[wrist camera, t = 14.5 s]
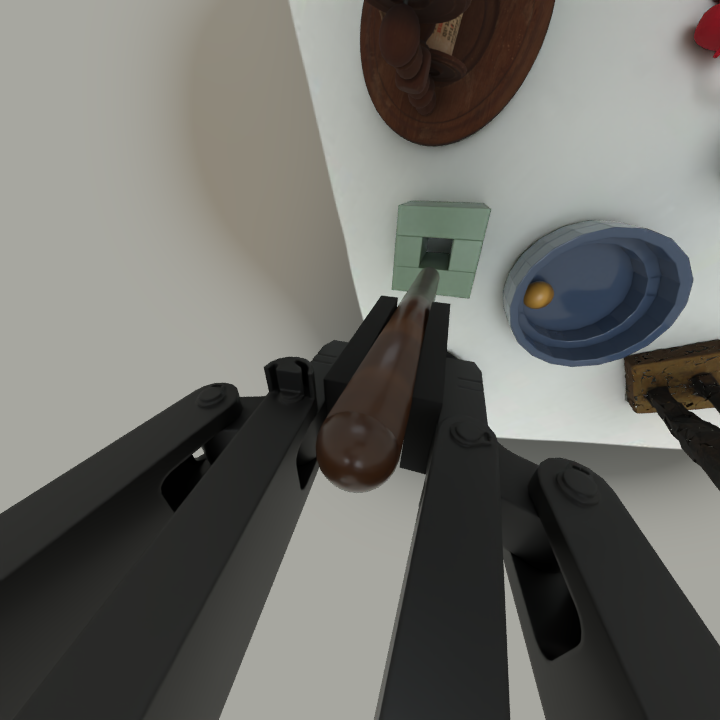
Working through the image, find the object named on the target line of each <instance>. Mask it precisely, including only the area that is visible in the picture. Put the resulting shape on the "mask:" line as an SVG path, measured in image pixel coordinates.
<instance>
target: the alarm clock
mask: <svg viewBox="0 0 720 720" xmlns="http://www.w3.org/2000/svg"><path fill="white" fill-rule="evenodd" d="M719 2H720V0H719ZM694 39H695V42H696V43H697V44H698V45H699V46H701V47H702V48H705V49H708V50H712V51H716V53H715V54H714V55H713V58H717V57H718V56H719V55H720V4H717V5H715V6H713V7H712V8H710V9H709V10H708V11H707V12H705V13H704V15H703V17H702V18H701V20H700V21H699V23H698V25H697V27H696V29H695V33H694Z"/></svg>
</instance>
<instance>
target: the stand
mask: <svg viewBox="0 0 720 720" xmlns="http://www.w3.org/2000/svg"><path fill="white" fill-rule="evenodd" d="M490 212H491V208H489V207H488V206H487V205H485V204H484V203H465V202H435V201H409V202H407V203H404V204H401V205H399V206H398V219H397V231H396V243H395V255H394V268H393V280H392V290H398V291H408V290H409V288H410V287H411V285H412V283H413V282H414V280H415V279H416V277H417V276H418V274H419V273H420V271H421V270H422V269H424V268H426V267H433V268H435V269H436V270H437V271H438V273H439V277H440V278H439V283H438V288H437V292H436V295H443V296H451V297H460V298H470V293H471V289H472V285H473V281H474V277H475V272H476V269H477V265H478V261H479V257H480V252H481V248H482V244H483V240H484V236H485V232H486V228H487V224H488V220H489V216H490ZM428 237H432V238H447V239H453V241H452V247H451V252H450V254H449V253H436V252H426V251H427V244H428Z"/></svg>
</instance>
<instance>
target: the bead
mask: <svg viewBox="0 0 720 720" xmlns="http://www.w3.org/2000/svg"><path fill="white" fill-rule="evenodd" d="M553 297H554V290H553V288H552V286H551V285H550V284H548V283H546V282H543V281H537V282H533V283H531V284H529V285H528V288H527V290H526V293H525V296H524V304H525V305H526V306H527V307H529V308H532V309H540V308H543V307H545V306H547V305H548V304H549V303H550V302H551V301H552V299H553Z"/></svg>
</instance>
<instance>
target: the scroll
mask: <svg viewBox="0 0 720 720" xmlns="http://www.w3.org/2000/svg"><path fill="white" fill-rule="evenodd" d="M554 3H555V0H364V3H363V9H362V17H361V29H360V52H361V63H362V69H363V74H364V79H365V83H366V86H367V89H368V92H369V95H370V98H371V100H372V102H373V104H374V106H375V108H376V110H377V112H378V113H379V115H380V116H381V118H382V119H383V120H384V121H385V123H386V124H387V125H388V126H389V127H390V128H391V129H392V130H393V131H394V132H396V133H397V134H398V135H399V136H401V137H403V138H404V139H406V140H408V141H410V142H413V143H416V144H419V145H424V146H443V145H448V144H452V143H455V142H458V141H460V140H463V139H465V138H467V137H469V136H471V135H472V134H474V133H476V132H477V131H479V130H480V129H482V128H483V127H484V126H485V125H487V124H488V123H489V122H490V121H492V120H493V119H494V118H495V117H496V116H497V115H498V114H499V113H500V112H501V111H502V110H503V108H504V107H505V106H506V105H507V104H508V103H509V101H510V100H511V99H512V98H513V96H514V95H515V93H516V92H517V91H518V89H519V88H520V86H521V85H522V83H523V81H524V80H525V78H526V76H527V75H528V73H529V71H530V69H531V67H532V65H533V64H534V62H535V60H536V58H537V55H538V53H539V51H540V49H541V46H542V44H543V41H544V38H545V36H546V33H547V30H548V27H549V23H550V20H551V16H552V12H553V8H554Z"/></svg>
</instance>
